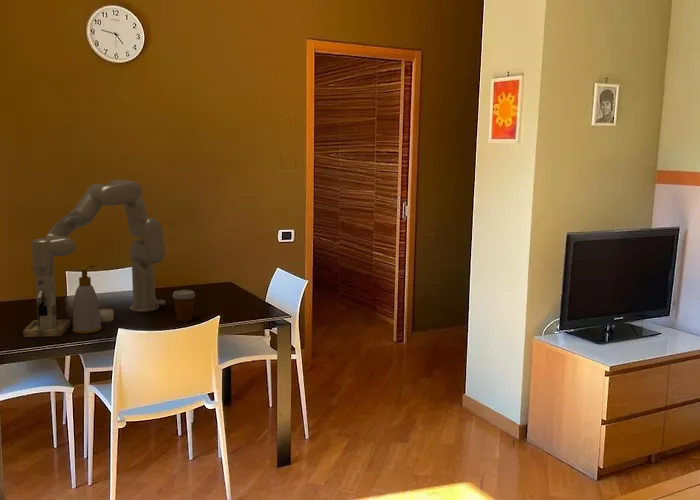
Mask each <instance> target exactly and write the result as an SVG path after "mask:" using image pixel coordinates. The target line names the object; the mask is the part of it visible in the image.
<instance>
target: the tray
mask: <svg viewBox="0 0 700 500" xmlns="http://www.w3.org/2000/svg"><path fill="white" fill-rule="evenodd" d="M70 326H71V320H70V319H57V326H56V327H55V328H54V329H38V319H37V320H35V319H34V320H32V321H31V322H30V323H29V324H28V325H27V326H26V327H25V328H24V329H23V330H22V333H23V335H22V337H24V338H29V337H31V338H32V337H34V338H35V337H62V336H63V335H64V334H63V333H66V331H67V330H68V329H67V328H69V327H70Z"/></svg>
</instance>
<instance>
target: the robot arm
mask: <svg viewBox="0 0 700 500" xmlns="http://www.w3.org/2000/svg"><path fill="white" fill-rule="evenodd" d="M142 188H143V187H142V186H141V185H140V184H139V183H138V182H136V181H132V180H126V179H113V180H112V181H110V182H109V183H108V184H101V183H96V184H95V183H94V184H91V185H90V186H89V187H88V188H87V190H86V191H85V193H84V194H83V195H82V196H81V198H80V199H79V201H78V202H77V203H76V205H75V206H74V207H73V209H72V210H71V211H70V212H68V213H67V214H65V216H63V217H61V218H60V219H59V220H58V221H57V222H56V223H54V225H52V227H51V228H50V229H49V231H48V233H47V234H46V235H45V238H44V237H42V238H35V239H32V241H31V254H32V255H31V256H32V270H33V275H34V276H35V296H36V300H37V299H38V315H39V316H47V315H48V314H47V306H46V301H47V299H48V300H50V299H51V295H53V293H54V292H55V293H56V285H55V277H54V274H55V262H54V257H65V256H66V257H67V256H70V255H71V254H72V253H74V252H75V250H76V244H75V241H74V240H73V239H72V238H70V237H69V235H70V234H72V232H74V231H76V230H77V229H79V228H80V229H81V228H83V227H86V226H88V225H90V224H91V223H92V221H93V220H94V218H96V216H97V214H98V213H99V211H100V210H101V209H102V207H103V206H105V207H111V206H112V207H113V206H120V205H123V207H124V210H125V214H126V221H127V227H128V232H129V234H130V235H132V236H133V237H135V238H138V239H135V240H133V241H132V242H131V243H130V245H129V249H128V252H129V253H128V254H129V259H130V262H131V278H132V280H131V281H132V302H133V303H132V304H131V305H130V306H129V310H130V311H132V312H139V313H140V312H141V313H142V312H143V313H144V312H145V313H146V312H147V313H148V312H154V311H156V310H158V309H159V308H160V306H161V305H162V306H165V305H166V300H163V299H157V296H156V290H155V287H156V286H155V281H156V280H155V266H154V264H158V263H160V262H162V261H163V260H164V258H165V254H166V247H165V245H166V244H165V240H164V233H163V229H162V225H161V223H160V221H158V220H157V219H156V218H153V217H149V216H148V214H147V209H146V204H145V201H144V199H143V197H142V195H143V189H142ZM43 293H44V294H43Z"/></svg>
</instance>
